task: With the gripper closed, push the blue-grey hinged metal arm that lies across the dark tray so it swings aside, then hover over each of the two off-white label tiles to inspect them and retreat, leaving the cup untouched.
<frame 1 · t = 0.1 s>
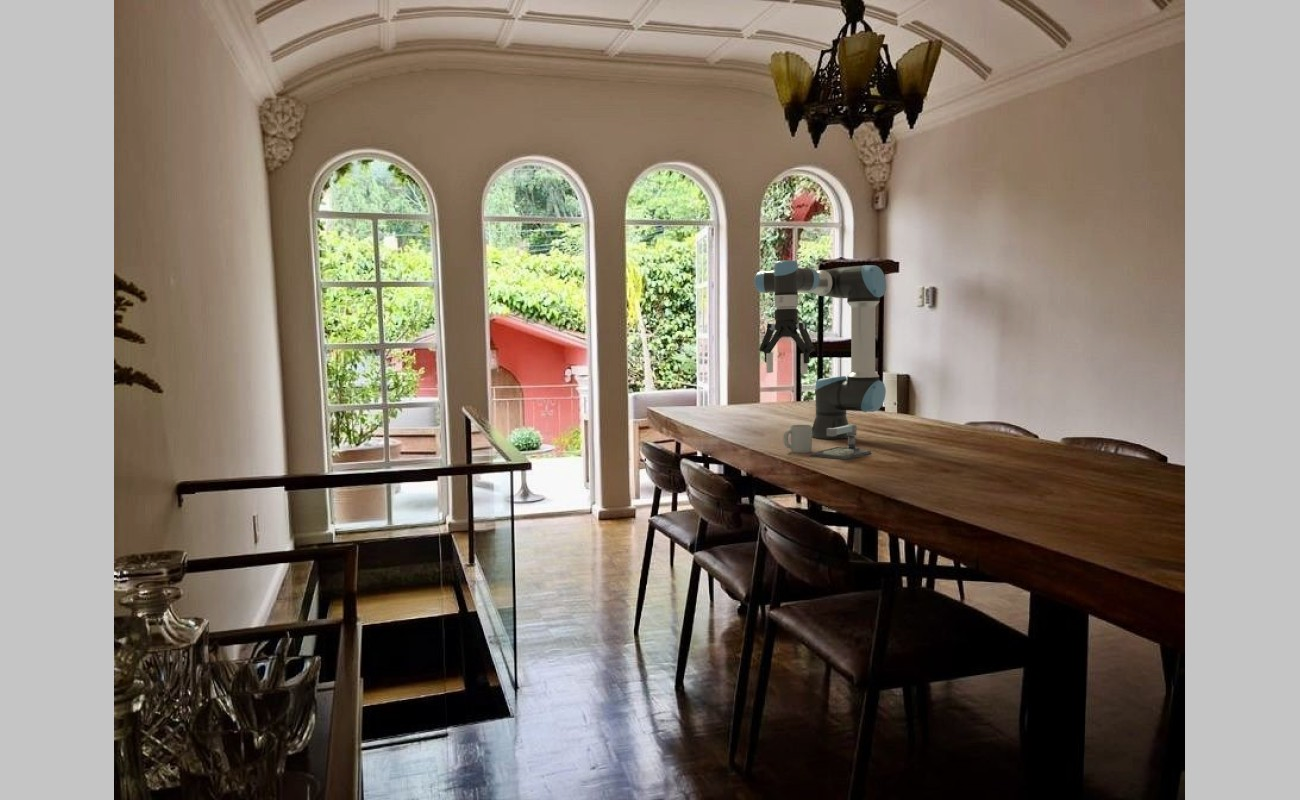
hand: (786, 373, 266), 28 cm above the table, fingers open, 13 cm apart
cup: (797, 452, 279), on the table
cable arm: (842, 431, 270), point 8 cm above the table, hinge at 0.0°
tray: (841, 454, 270), on the table
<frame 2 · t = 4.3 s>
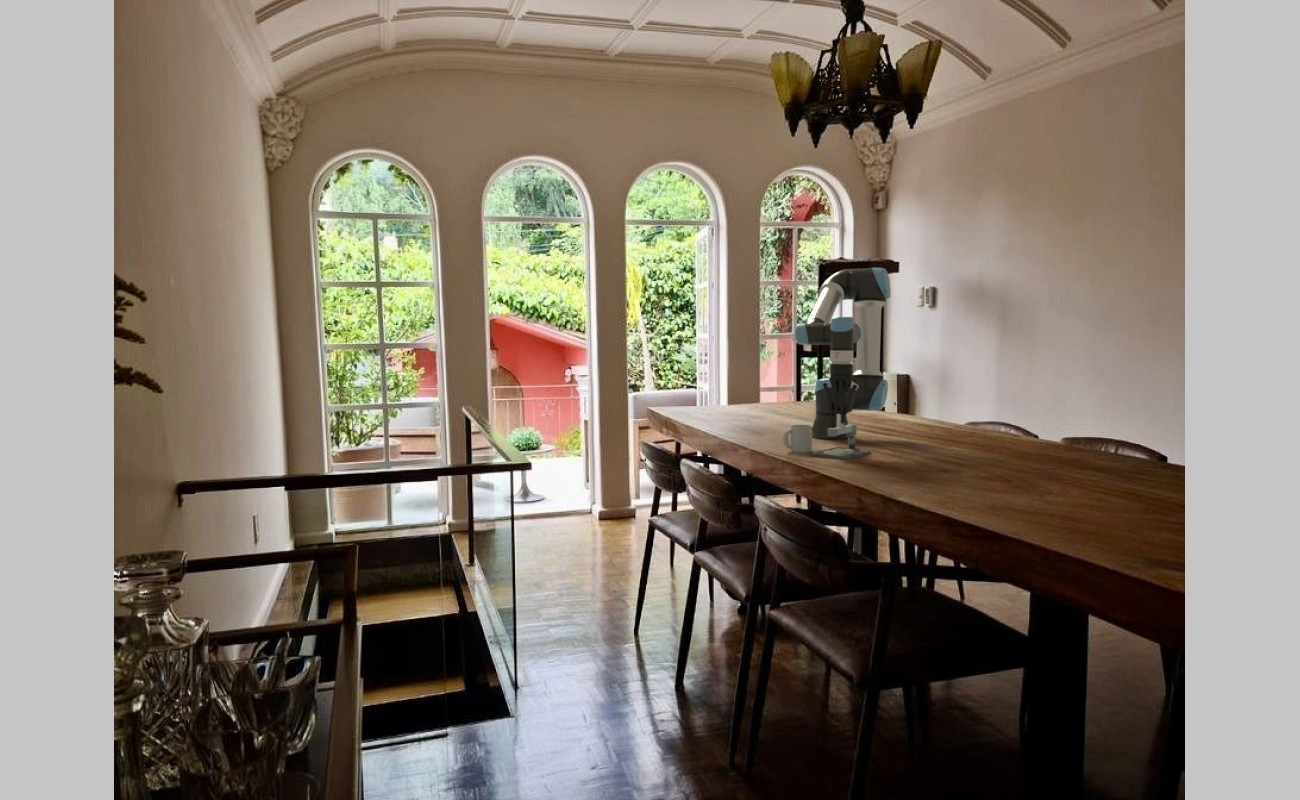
hand: (840, 432, 272), 7 cm above the table, fingers closed
cable arm: (842, 431, 270), point 8 cm above the table, hinge at 1.6°, touching gripper
everything else where it was.
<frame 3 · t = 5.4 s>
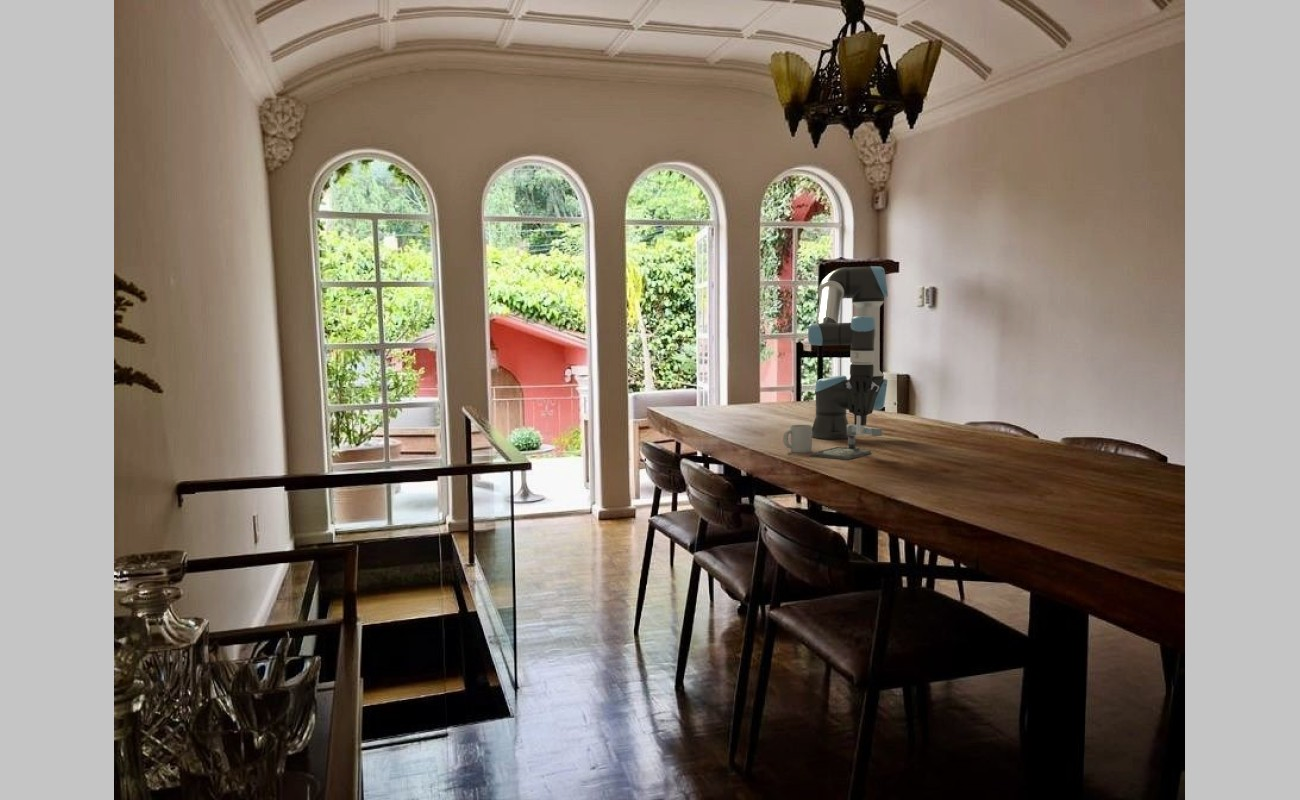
hand: (860, 434, 266), 7 cm above the table, fingers closed
cable arm: (863, 431, 269), point 8 cm above the table, hinge at 69.2°, touching gripper
everything else where it was.
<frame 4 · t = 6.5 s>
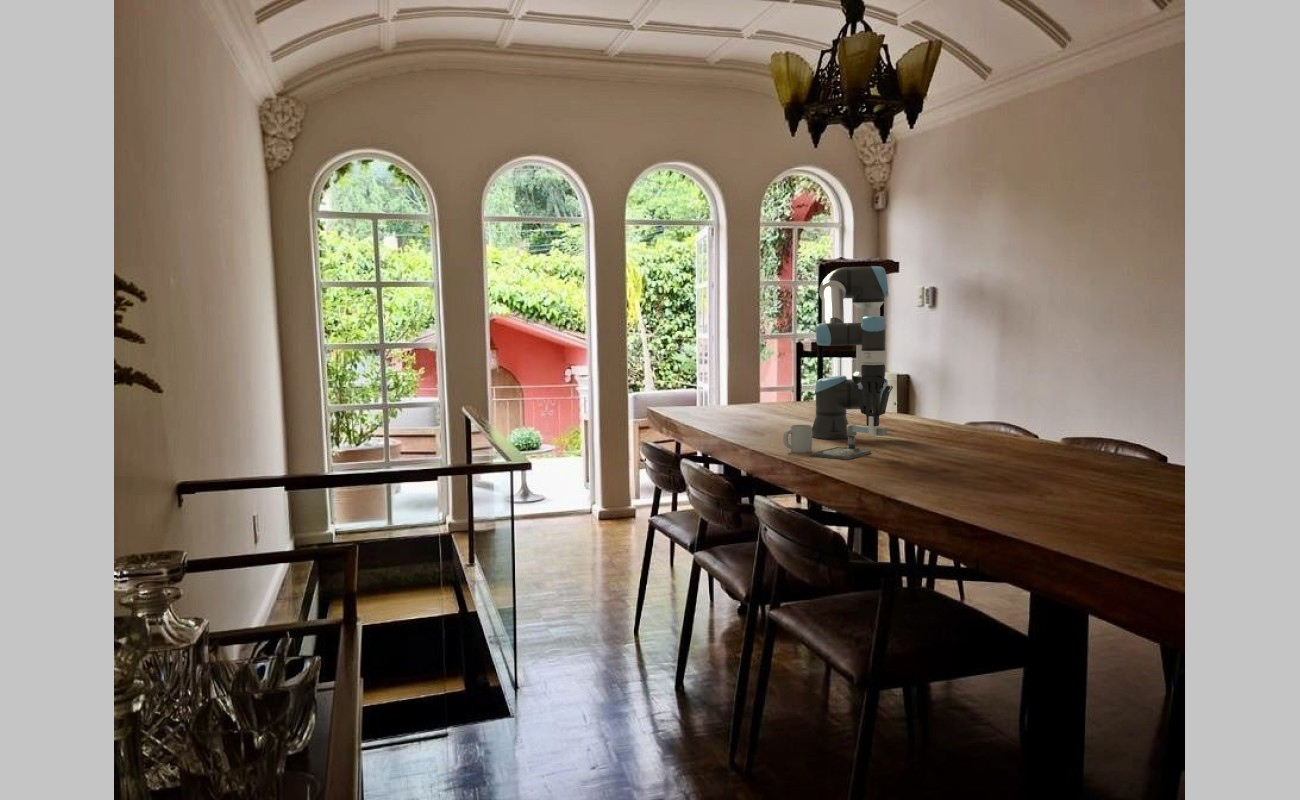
hand: (872, 435, 264), 7 cm above the table, fingers closed
cable arm: (865, 431, 269), point 8 cm above the table, hinge at 79.9°, touching gripper
everything else where it was.
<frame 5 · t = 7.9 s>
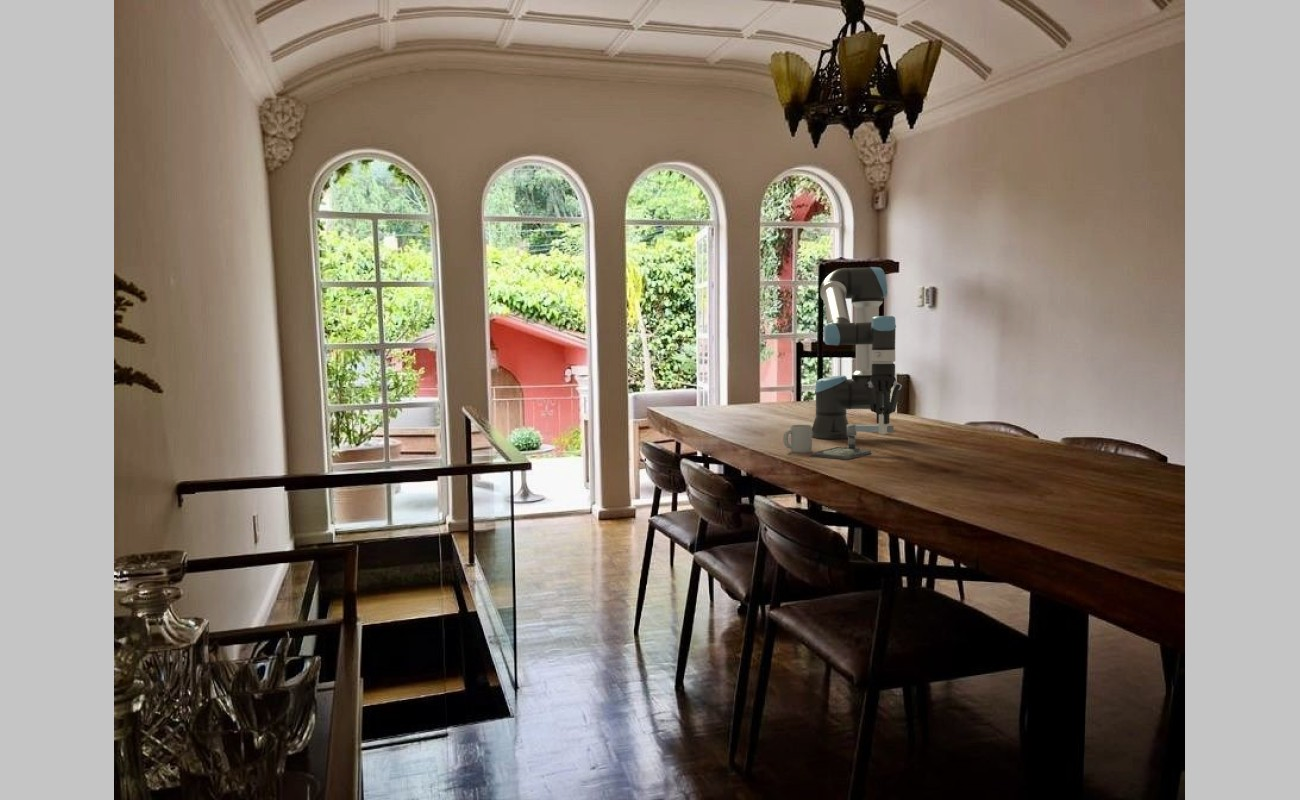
hand: (882, 433, 268), 7 cm above the table, fingers closed
cable arm: (870, 430, 272), point 8 cm above the table, hinge at 116.5°, touching gripper
everything else where it was.
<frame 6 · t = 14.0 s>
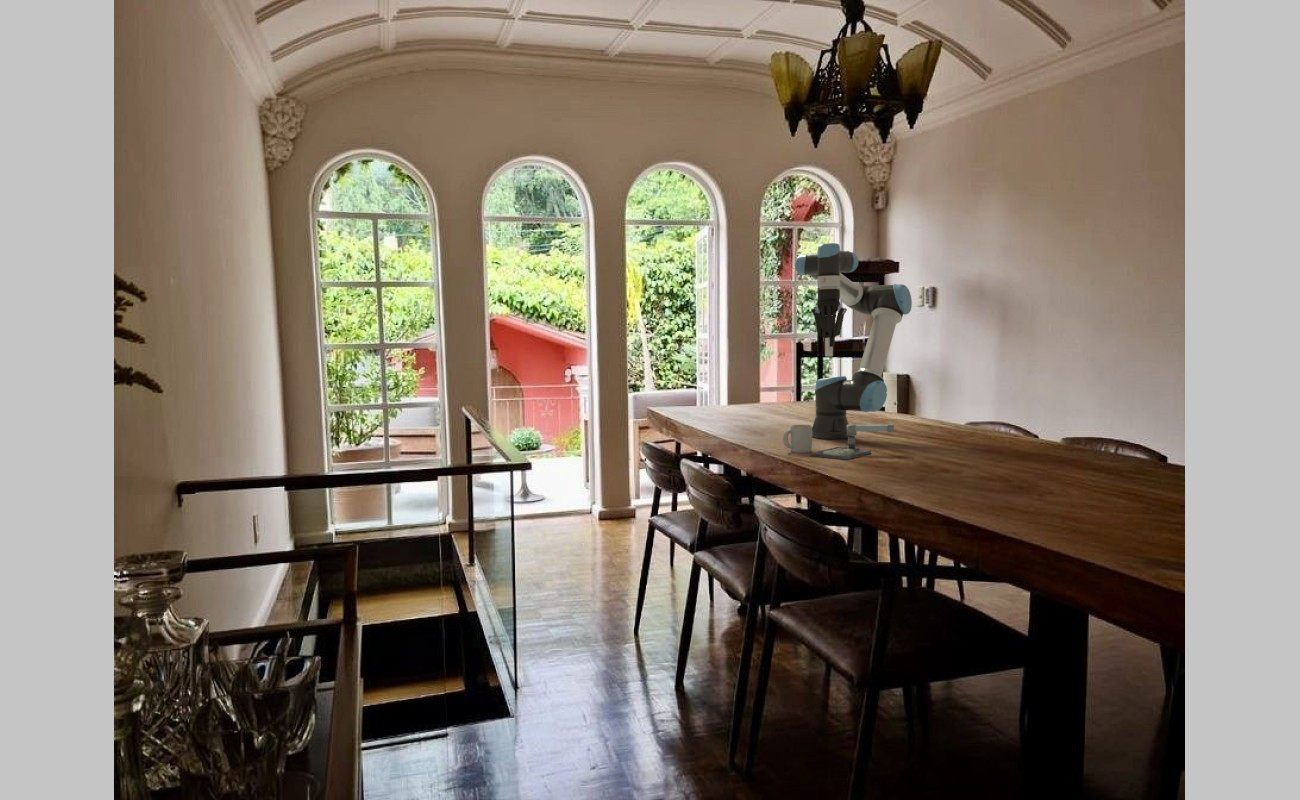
hand: (829, 356, 283), 32 cm above the table, fingers closed
cable arm: (869, 429, 273), point 8 cm above the table, hinge at 122.1°
everything else where it was.
at the end: cable arm at +122° (first picture: +0°); cup moved 0.2 cm from its start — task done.
